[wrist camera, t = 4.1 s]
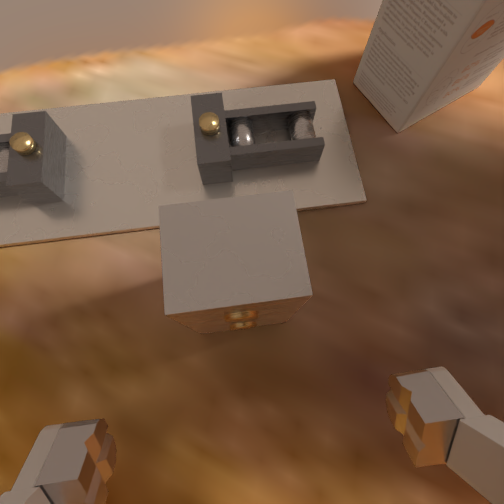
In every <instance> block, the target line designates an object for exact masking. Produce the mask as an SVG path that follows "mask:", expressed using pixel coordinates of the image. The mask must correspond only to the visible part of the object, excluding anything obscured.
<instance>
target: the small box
mask: <svg viewBox="0 0 504 504" xmlns="http://www.w3.org/2000/svg"><path fill="white" fill-rule="evenodd" d="M503 58H504V0H383V1H382V4H381V7H380V9H379V12H378V15H377V18H376V20H375V23H374V26H373V28H372V31H371V34H370V37H369V39H368V42H367V45H366V47H365V50H364V53H363V56H362V58H361V61H360V64H359V67H358V69H357V72H356V75H355V77H354V80H353V83H354V84H355V85H356V87H357V88H358V89H359V90H360V91H361V92H362V93H363V94H364V95H365V97H366V98H367V99H368V100H369V101H370V102H371V103H372V105H373V106H374V107H375V108H376V109H377V110H378V111H379V113H380V114H381V115H382V116H383V117H384V118H385V119H386V121H387V122H388V123H389V124H390V125H391V126H392V128H393V129H394V130H395V131H396V132H397V133H399V132H401V131H403V130H404V129H406V128H408V127H409V126H411V125H413V124H415V123H416V122H418V121H420V120H422V119H423V118H425V117H427V116H429V115H430V114H432V113H434V112H436V111H437V110H439V109H441V108H443V107H444V106H446V105H448V104H450V103H451V102H453V101H455V100H456V99H458V98H460V97H462V96H463V95H465V94H467V93H469V92H470V91H472V90H474V89H476V88H478V87H479V86H480V85H481V84H482V82H483V81H484V80H485V79H486V78H487V77H488V76H489V74H490V73H491V72H492V71H493V70H494V69H495V67H496V66H497V65H498V64H499V63H500V62H501V60H502V59H503Z"/></svg>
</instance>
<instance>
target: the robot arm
mask: <svg viewBox="0 0 504 504" xmlns="http://www.w3.org/2000/svg"><path fill="white" fill-rule="evenodd" d="M388 385H389V386H390V388H391V390H390V391H389V392H388V393H387V394H386V407H387V412H388V415H389V418H390V420H391V422H392V424H393V426H394V428H395V429H396V430H398V431H399V432H400V433H402V434H403V435H404V438H403V445H404V447H405V449H406V451H407V453H408V455H409V457H410V459H411V460H412V462H413V464H414V466H415V468H416V467H423V466H430V465H438V464H445V463H447V464H446V465H447V466H448V467H449V468H450V469H451V470H453V471H454V472H455V473H456V474H457V475H458V476H460V477H461V478H462V479H463V480H464V481H466V482H467V483H468V484H469V485H470V486H472V487H473V488H474V489H475V490H476V491H477V492H479V493H480V494H481V495H482V496H483V497H485V498H486V499H487V500H488V501H489V502H491V503H492V504H504V422H502V421H500V420H499V419H497V418H495V417H493V416H492V415H484V414H483V413H482V411H481V410H480V409H479V408H478V406H477V405H476V404H475V403H474V402H473V400H472V399H471V398H470V397H469V396H468V394H467V393H466V392H465V391H464V390H463V388H462V387H461V386H460V385H459V383H458V382H457V381H456V380H455V379H454V377H453V376H452V375H451V374H450V373H449V371H448V370H447V369H446V368H444V367H443V366H442V367H435V368H429V369H420V370H414V371H408V372H401V373H395V374H391V375H390V376H389V380H388ZM107 428H108V425H107V423H106V421H105V419H95V420H87V421H79V422H71V423H63V424H56V425H49V426H45V427H44V428H43V429H42V430H41V431H40V433H39V435H38V437H37V439H36V441H35V443H34V445H33V447H32V449H31V451H30V453H29V455H28V457H27V459H26V461H25V463H24V465H23V467H22V469H21V471H20V473H19V475H18V477H17V479H16V481H15V483H14V485H13V487H12V489H11V491H8V492H4V493H3V494H2V495H1V496H0V504H105V503H106V500H107V496H108V492H109V491H108V489H107V486H106V484H105V483H106V481H107V480H108V479H109V478H110V476H111V475H112V474H113V472H114V468H115V464H116V451H117V450H116V444H115V440H114V438H113V436H111V435H109V434H108V433H106V432H107Z"/></svg>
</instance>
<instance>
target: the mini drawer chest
mask: <svg viewBox="0 0 504 504" xmlns="http://www.w3.org/2000/svg"><path fill="white" fill-rule="evenodd" d="M159 223H160V241H161V259H162V276H163V294H164V311H165V315H166V316H168V317H170V318H171V319H173V320H175V321H177V322H179V323H181V324H183V325H185V326H187V327H189V328H191V329H193V330H195V331H197V332H199V333H200V334H205V333H213V332H220V331H227V330H240V329H247V328H253V327H256V326H263V325H270V324H278V323H285V322H286V321H287V320H288V319H289V318H290V317H291V316H292V315H293V314H294V313H295V312H296V311H297V310H298V309H299V308H300V307H301V306H302V305H303V304H304V303H305V302H306V301H307V300H308V299H309V298H310V297H311V296H312V295H313V293H312V288H311V283H310V278H309V272H308V267H307V262H306V257H305V251H304V246H303V241H302V236H301V231H300V225H299V220H298V215H297V210H296V205H295V199H294V194H293V190H288V191H280V192H271V193H263V194H255V195H246V196H238V197H229V198H221V199H213V200H204V201H196V202H187V203H179V204H171V205H162V206H159Z"/></svg>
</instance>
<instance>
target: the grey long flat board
mask: <svg viewBox="0 0 504 504" xmlns="http://www.w3.org/2000/svg"><path fill="white" fill-rule="evenodd" d="M288 190H293V194H294V199H295V205H296V210H297V211H303V210H311V209H319V208H327V207H335V206H344V205H352V204H360V203H365V202H366V201H367V199H366V195H365V192H364V188H363V184H362V180H361V176H360V173H359V169H358V165H357V161H356V157H355V154H354V150H353V146H352V142H351V139H350V135H349V131H348V127H347V123H346V120H345V116H344V112H343V108H342V104H341V101H340V97H339V93H338V89H337V85H336V82H335V79H332V80H322V81H312V82H303V83H293V84H283V85H274V86H264V87H254V88H245V89H235V90H225V91H216V92H206V93H196V94H187V95H177V96H167V97H158V98H148V99H138V100H129V101H119V102H109V103H100V104H90V105H80V106H71V107H61V108H51V109H42V110H32V111H22V112H13V113H3V114H0V247H7V246H16V245H24V244H32V243H40V242H48V241H57V240H65V239H73V238H81V237H89V236H98V235H106V234H114V233H122V232H130V231H139V230H147V229H155V228H160V223H159V206H162V205H171V204H179V203H187V202H196V201H204V200H213V199H221V198H229V197H238V196H246V195H255V194H263V193H271V192H280V191H288Z"/></svg>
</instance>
